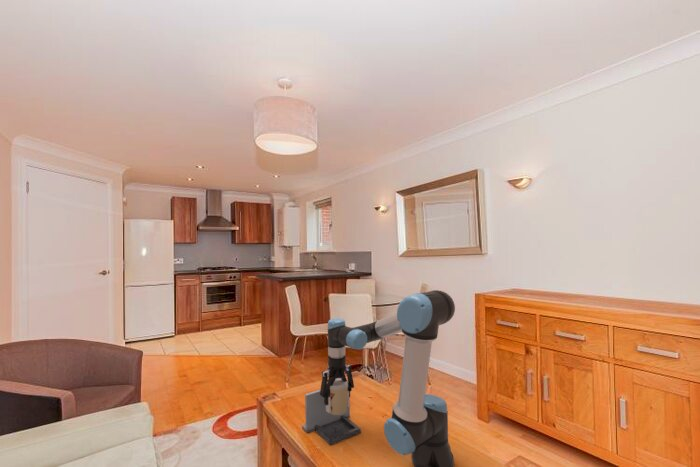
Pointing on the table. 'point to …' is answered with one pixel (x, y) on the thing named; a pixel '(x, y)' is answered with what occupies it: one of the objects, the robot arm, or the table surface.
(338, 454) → the table surface
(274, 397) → the table surface
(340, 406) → the coffee cup
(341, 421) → the plate
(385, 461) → the table surface
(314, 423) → the wall board
